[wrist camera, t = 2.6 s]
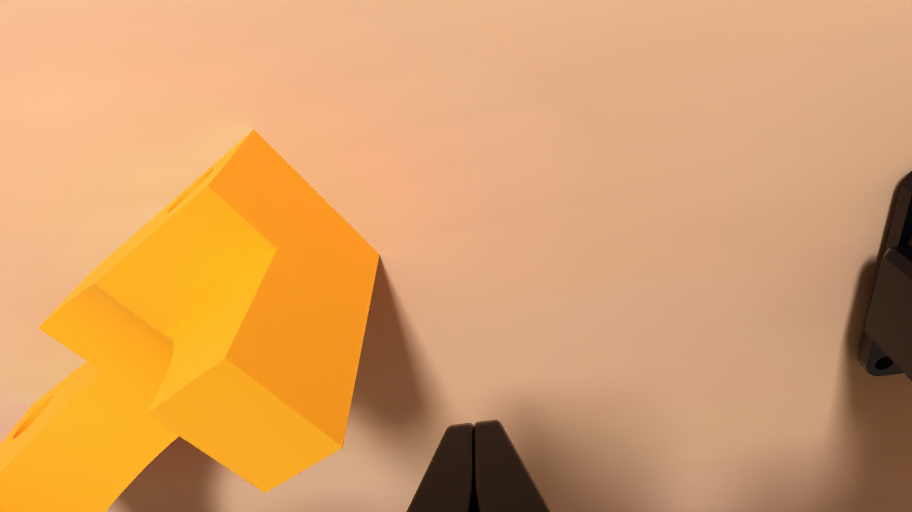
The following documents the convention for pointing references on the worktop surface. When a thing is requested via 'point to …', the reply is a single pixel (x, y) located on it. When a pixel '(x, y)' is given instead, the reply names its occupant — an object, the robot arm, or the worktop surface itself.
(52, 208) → the worktop surface
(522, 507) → the robot arm
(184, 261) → the pipe clamp
